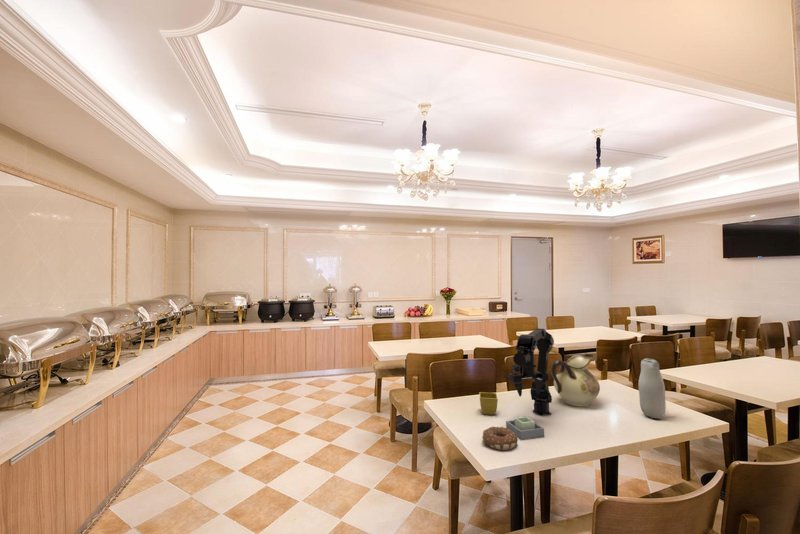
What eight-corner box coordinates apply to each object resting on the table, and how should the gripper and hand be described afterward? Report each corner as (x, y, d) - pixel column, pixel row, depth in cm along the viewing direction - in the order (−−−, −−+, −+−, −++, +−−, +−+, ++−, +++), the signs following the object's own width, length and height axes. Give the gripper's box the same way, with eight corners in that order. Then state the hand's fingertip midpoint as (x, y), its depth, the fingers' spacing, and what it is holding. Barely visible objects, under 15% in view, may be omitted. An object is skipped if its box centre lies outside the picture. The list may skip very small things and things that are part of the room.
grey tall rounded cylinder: (670, 418, 164) (666, 359, 165) (659, 422, 159) (656, 362, 160) (647, 411, 172) (644, 355, 174) (636, 415, 167) (633, 358, 169)
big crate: (528, 426, 156) (528, 418, 157) (544, 436, 145) (544, 428, 146) (506, 428, 154) (505, 421, 154) (520, 440, 143) (520, 431, 143)
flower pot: (498, 417, 168) (497, 398, 168) (480, 415, 169) (479, 397, 170) (496, 410, 176) (496, 392, 177) (479, 409, 178) (479, 392, 179)
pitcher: (601, 400, 190) (599, 354, 191) (599, 414, 170) (597, 363, 171) (557, 394, 202) (555, 351, 203) (551, 406, 182) (549, 359, 183)
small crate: (526, 427, 153) (526, 416, 154) (535, 433, 148) (534, 421, 148) (514, 429, 152) (514, 417, 152) (522, 435, 146) (522, 423, 146)
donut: (507, 435, 148) (507, 423, 148) (523, 450, 134) (523, 437, 135) (476, 438, 146) (475, 426, 146) (489, 453, 132) (489, 440, 132)
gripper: (534, 357, 171) (535, 388, 170) (501, 359, 166) (501, 392, 166) (549, 362, 160) (550, 395, 159) (513, 364, 156) (514, 399, 155)
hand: (528, 395), depth 160 cm, fingers open, 9 cm apart
